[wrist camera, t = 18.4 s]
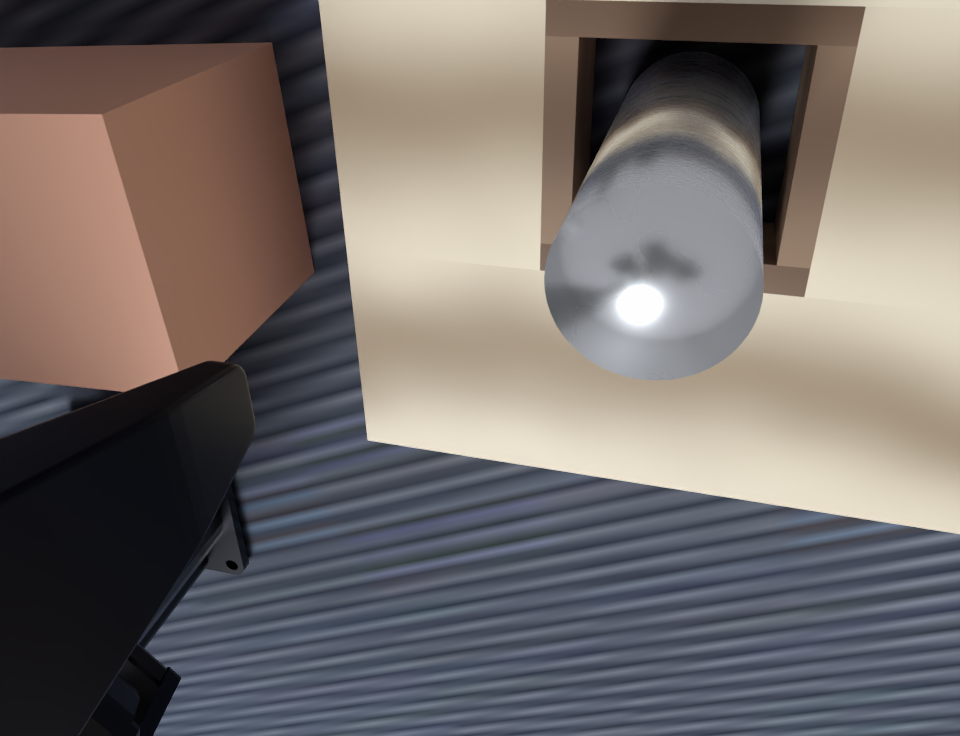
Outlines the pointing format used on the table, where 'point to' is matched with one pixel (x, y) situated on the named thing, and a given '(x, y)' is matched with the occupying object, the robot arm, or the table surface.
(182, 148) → the block
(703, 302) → the steel pin
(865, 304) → the pin board
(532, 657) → the table surface
